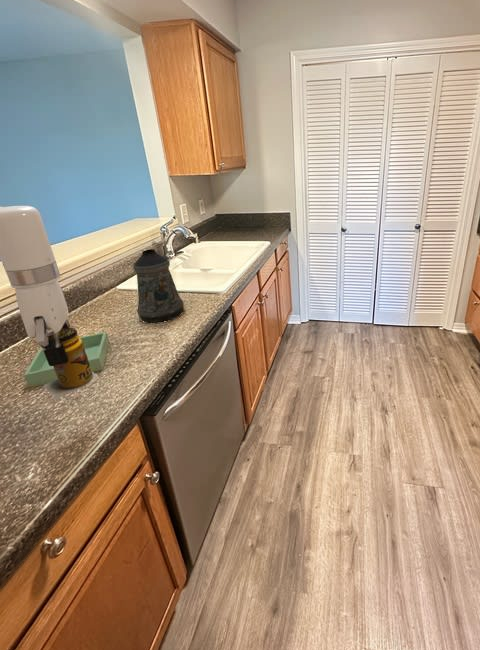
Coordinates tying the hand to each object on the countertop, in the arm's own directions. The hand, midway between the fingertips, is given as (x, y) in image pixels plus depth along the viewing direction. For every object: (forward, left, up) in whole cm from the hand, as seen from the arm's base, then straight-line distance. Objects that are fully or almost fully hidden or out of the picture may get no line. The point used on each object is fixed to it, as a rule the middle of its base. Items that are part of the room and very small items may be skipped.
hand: (63, 354), depth 67 cm
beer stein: (+16, +54, -19) cm, 59 cm away
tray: (-9, +30, -18) cm, 36 cm away
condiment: (0, 0, -7) cm, 7 cm away
